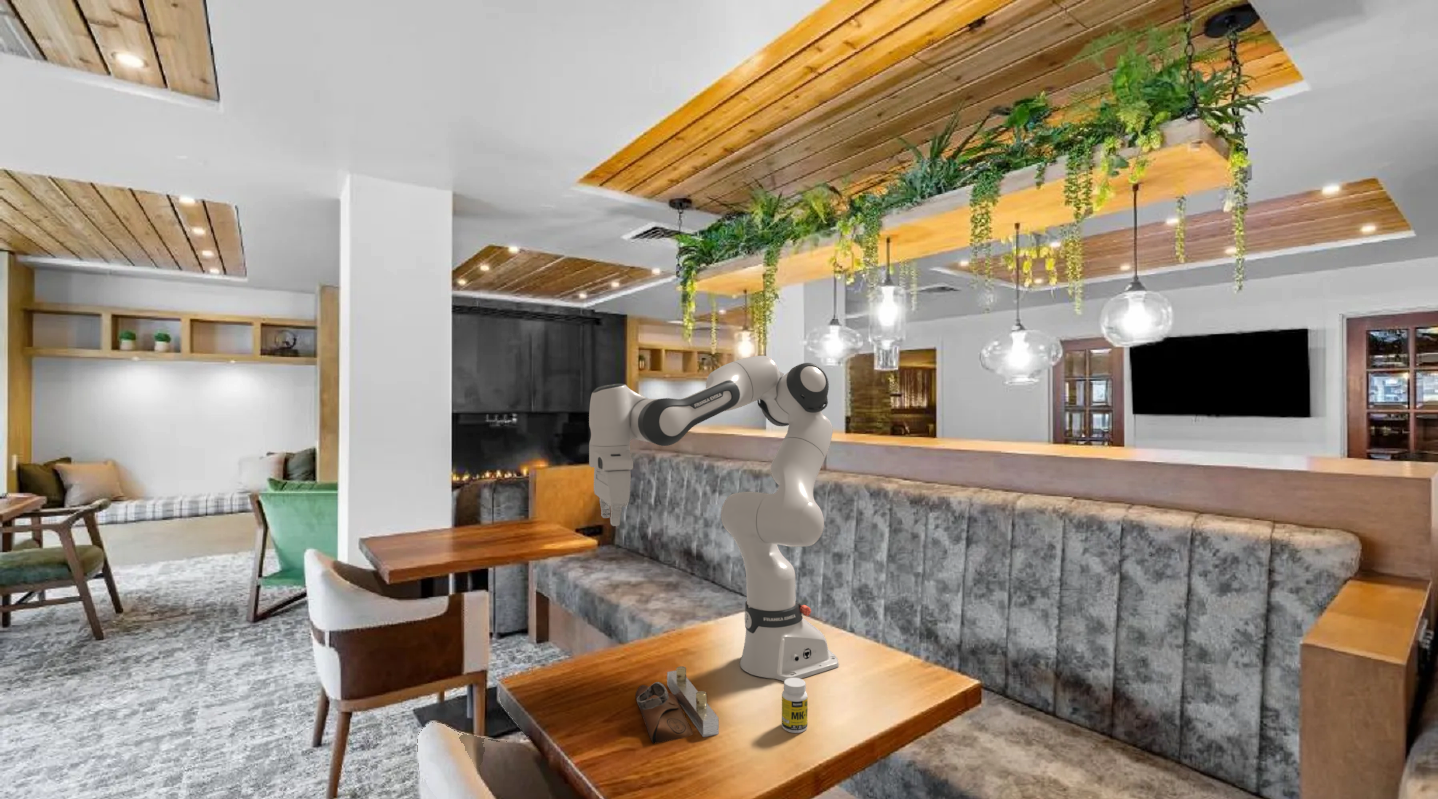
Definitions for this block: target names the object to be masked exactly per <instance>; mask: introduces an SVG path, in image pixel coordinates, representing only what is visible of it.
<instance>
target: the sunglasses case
mask: <svg viewBox="0 0 1438 799" xmlns="http://www.w3.org/2000/svg"><path fill="white" fill-rule="evenodd" d="M649 687H650V686H648V685H645V684H641V685H640V686H639V687H638V688H637V689H636V692H635V699H636V701H637V698H638V696H639V695H641V694H642V693H644V692H645V691H646V690H647V689H648V688H649ZM668 696H669V698H668V700H667V701H666V702H665V703H664V704H663V705H659V706H657V707H655V708H652V709H646V710H643V709H641V708H640V707H639V706H638V708H639V710H640V712H641V715H642V716H641V717H642V718H643V721H644V724H645V726H646V730H647V733H648V736H649V739H650V741H651V742H652V744H662V743H665V742H671V741H676V740H680V739H684V738H688V737H690V736H693V735H694V732H693V729H692V728H691V726H690V724H689V722H688V720H687V718H686V716H685V714H684V711H683V708H682V706H681V705H680V704H679V702H678V700H677V697H676V696H675V695H674V694H673V693H669V692H668ZM658 697H659V696H656V695H653V696H651V697H650V698H648V699H646V700H649V699H651V698H654V699H655V698H658Z"/></svg>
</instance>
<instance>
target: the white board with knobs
mask: <svg viewBox="0 0 1438 799" xmlns="http://www.w3.org/2000/svg"><path fill="white" fill-rule="evenodd" d="M675 669H676V670H671V671H667V673H666V681H667V682H666V686H667V688H668V689H669V691H670V692H671V694H674V695H675V696H676V697H677V700H678V703H679V705H680V707H681V709H682V710H684V711H683V712H684V713H686V715H687V716H688V718H689V719H690V721H691V722H692V724H693V725H694V727H695V728H696V729H697V731H698V733H699V734H700V735H701V737H703V738H706V737H712V736H717V735H719V734H720V733H719V732H720V731H719V730H720V729H719V727H720V726H719V725H720V724H719V723H720V722H719V718H720V717H719V716H718V715H717V713H715V711H714V710H713V709H712V707H711V706H710V704H708V703H707V702H708V701H707V695H708V694H707V692H706V691H704V690H700V691H698V689H697V688H696V687H695V685H694V684H692V682H691V680H690V679H689V678H688V677H687V667H686V666H682V665H681V666H678V667H676V668H675Z"/></svg>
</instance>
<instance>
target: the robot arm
mask: <svg viewBox="0 0 1438 799" xmlns="http://www.w3.org/2000/svg"><path fill="white" fill-rule="evenodd" d="M705 382H706V383H705V388H704V389H702V390H700V391H698V392H695V393H692V394H691V395H687V396H686V397H683V398H679V399H678V398H670V397H666V398H648V397H647V396H645V395H644V396H643V394H639V393H637V392H636V391H634V390H632V389H631V388H629V387H628V385H627V384H625V383H611V384H605V385H601V386H598V387H596V388H595V389H594V390H593V391H592V392H591V396H590V402H589V412H588V413H589V414H588V415H589V416H588V418H589V419H588V420H589V421H588V423H589V424H588V425H589V429H590V440H589V445H588V446H589V450H588V451H589V452H588V453H589V454H588V455H589V457H588V458H589V460H588V461H589V462H588V463H589V464H588V466H589V467H591V468H594V469H593V470H594V471H593V472H594V473H593V492H594V493H593V494H594V495H595V496H597V497H598V498H599V504H600V510H601V511H600V513H601V514H600V516H601V517H602V518H603V519H609V521H610V525H611V526H612V527H618V526H620V524H621V516H622V515H621V514H622V512H623V511H622V510H623V509H622V508H624V507H628V505H629V503H630V497H631V496H630V495H631V482H632V481H631V480H632V478H631V477H632V476H631V475H632V474H631V470H633V469H634V460H633V458H632V456H631V441H632V440H633V439H634V440H637V441H642V442H647V443H651V444H653V445H657V446H662V447H667V446H672V445H674V444H676V443H678V442H679V441H680V440H681V439H683V437H684V436H686V435H687V433H688V432H690V430H691V429H692V428H693V427H695V426H697V425H698V424H701V423H702V422H705V421H707V420H709V419H711V418H713V417H715V416H717V415H719V414H721V413H724V412H727V411H732V410H735V409H739V408H742V407H744V406H748V405H749V404H751V403H753V402H756V401H757V402H756V403H757V406H758V407H759V408H760V409H761V412H762V413H763V415H764V417H765V418H766V419H767V420H768V422H770V423H771V424H773V425H775V426H777V427H787V426H788V428H787V433H786V434H785V436H784V438H783V439H782V441H781V443H780V445H779V446H778V447H779V448H778V449H777V451H776V454H775V455H774V458H773V459H772V461H771V464H770V474H771V477H772V479H773V481H774V482H775V483H776V484H777V485H778V488H777V490H776V491H775V492H774V493H767V492H760V491H759V492H757V491H741V492H740V491H739V492H734V493H732V494H730V495H728V496H727V497H726V499H725V500H724V502H723V504H722V507H721V511H720V519H721V523H722V527H724V529H725V530H726V531H727V532H728V533H729V535H730V536H731V537H732V538H733V540H734V541H735V543H736V546H737V547H738V549H739V552H740V555H741V557H742V560H743V564H744V569H745V570H744V571H745V579H746V580H745V581H746V583H745V585H746V601H745V603H744V626H745V637H744V643H743V650H742V655H741V657H740V661H739V666H740V668H741V669H742V670H743V671H744V672H746V673H747V674H750V675H752V676H756V677H760V678H767V679H775V680H779V681H781V682H784V681H785V680H786V679H788V678H800V679H804V678H808V677H810V676H813V675H816V674H820V673H823V672H827V671H830V670H833V669H836V668H838V667H839V666H840V664H839V659H838V657H837V655H836V654H835V653H833V652H832V651H831V650H830V649H829V646H828V642H827V638H826V637H825V635H824V633H823V632H822V631H821V630H820V629H818V628H817V627H816V626H815V625H813V624H812V623H810V622H809V621H808V620H807V619H805V618H804V617H803V615H804V616H806V617H809V616H810V615H811V614H812V608H811V607H809V606H807V605H806V604H803V605H802V603H800V602H798V601H796V571H795V568H794V566H793V564H791V562H790V561H789V560H788V559H787V558H786V557H784V555H783V553H782V552H781V551H780V549H779V545H780V546H786V547H791V548H795V547H797V548H800V547H810V546H813V545H814V544H815V543H817V542H818V541H819V539H820V538H821V537H822V534H823V532H824V527H825V518H824V514H823V512H822V509H821V507H820V506H819V505H818V503H817V502H816V500H815V498H814V496H815V495H814V488H815V483H816V481H817V479H818V476H819V473H820V471H821V469H822V466H823V464H824V462H825V459H826V457H827V454H828V452H829V450H830V445H831V443H832V442H831V441H832V438H833V432H834V429H833V424H832V422H831V420H830V419H829V418H828V417H827V416H825V415H824V414H823V412H822V411H824V410H825V409H826V408H827V407H828V404H829V401H828V400H829V399H828V393H829V388H830V387H829V385H830V384H829V383H830V382H829V378H828V376H827V373H826V372H825V371H824V369H823V368H822V367H821V366H819V365H818V364H815V363H813V362H803V363H799V364H797V365H796V366H793V367H791V369H790V370H789V371H788V372H787V373H783V372H781V371H780V370H779V366H778V365H777V363H776V361H775V360H773V359H772V358H771V357H769V356H767V355H755V356H748V357H745V358H741V359H737V360H734V361H731V362H729V363H726V364H724V365H721V366H720V367H717V368H716V369H715V370H713V371H712V372H710V373H709V374H708V376H707V379H706V381H705Z"/></svg>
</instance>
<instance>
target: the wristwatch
mask: <svg viewBox="0 0 1438 799" xmlns="http://www.w3.org/2000/svg"><path fill="white" fill-rule="evenodd" d="M648 687H649V688H648V689H647V690H646V691H645V692H644V693H642V694H641V695H639V696H638V698H637V700H636V702H637V705H638V708H639V707H640V708H641V709H643V710H646V709H652V708H655V707H657V706H659V705H663V704H664V703H665V702H666V701H667V700H668V698H669V696H668V693H669V692H668V690H667V687H666V686H665V684H663V683H662V682H660V681H656V682H654V683H652V684H651V685H649V686H648ZM653 695H656V696H659V697H658V698H655V699H654V698H651V699H649V700H646V699H648V698H650V697H651V696H653ZM640 708H639V709H640Z"/></svg>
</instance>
